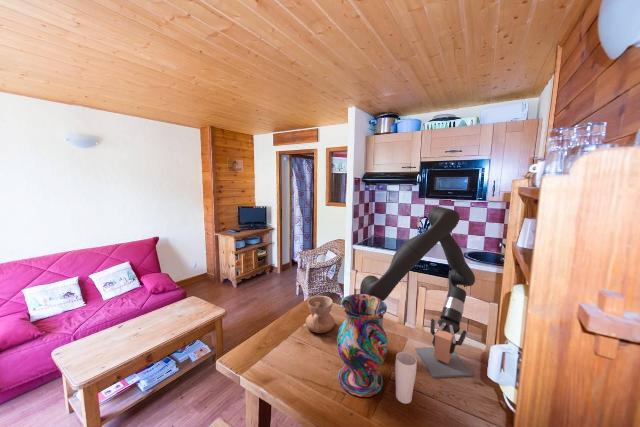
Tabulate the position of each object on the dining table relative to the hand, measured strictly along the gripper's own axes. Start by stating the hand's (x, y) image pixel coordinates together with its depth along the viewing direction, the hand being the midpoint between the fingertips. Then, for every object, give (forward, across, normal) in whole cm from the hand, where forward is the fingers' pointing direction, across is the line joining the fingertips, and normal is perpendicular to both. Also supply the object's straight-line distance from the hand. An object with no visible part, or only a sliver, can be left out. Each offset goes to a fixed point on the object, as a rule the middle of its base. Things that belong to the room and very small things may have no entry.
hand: (442, 349), depth 102 cm
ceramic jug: (+15, -53, -6) cm, 55 cm away
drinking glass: (+23, -5, -14) cm, 27 cm away
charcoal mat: (+3, 0, +6) cm, 7 cm away
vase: (+25, -20, -16) cm, 36 cm away
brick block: (+2, 0, +4) cm, 5 cm away
